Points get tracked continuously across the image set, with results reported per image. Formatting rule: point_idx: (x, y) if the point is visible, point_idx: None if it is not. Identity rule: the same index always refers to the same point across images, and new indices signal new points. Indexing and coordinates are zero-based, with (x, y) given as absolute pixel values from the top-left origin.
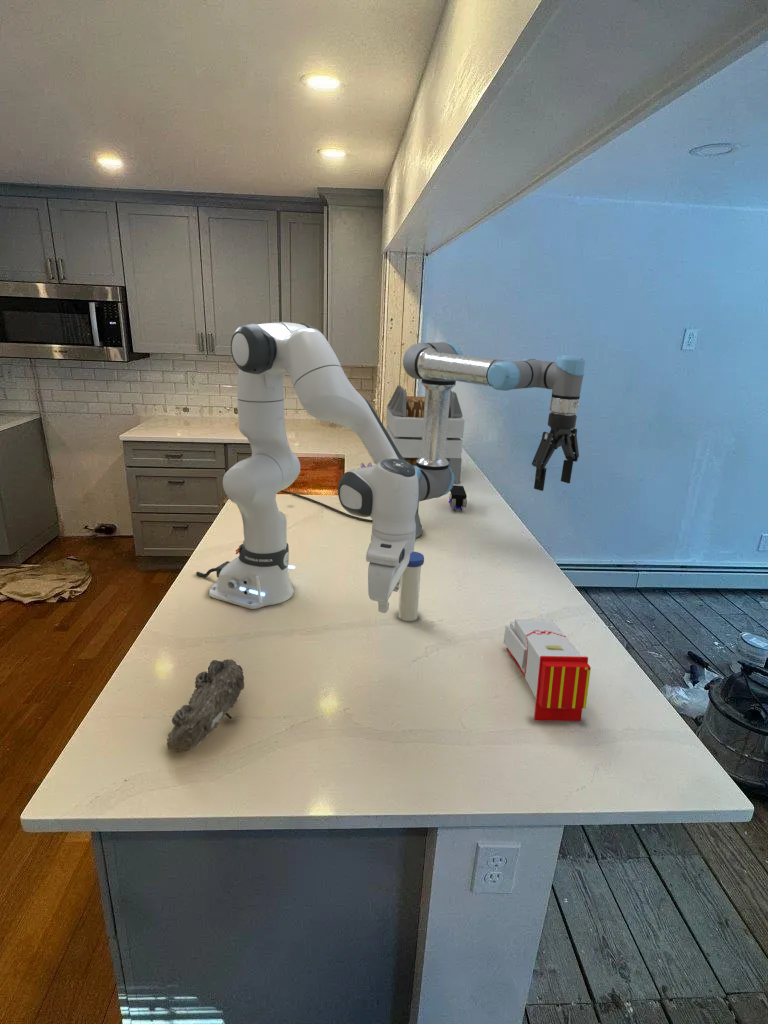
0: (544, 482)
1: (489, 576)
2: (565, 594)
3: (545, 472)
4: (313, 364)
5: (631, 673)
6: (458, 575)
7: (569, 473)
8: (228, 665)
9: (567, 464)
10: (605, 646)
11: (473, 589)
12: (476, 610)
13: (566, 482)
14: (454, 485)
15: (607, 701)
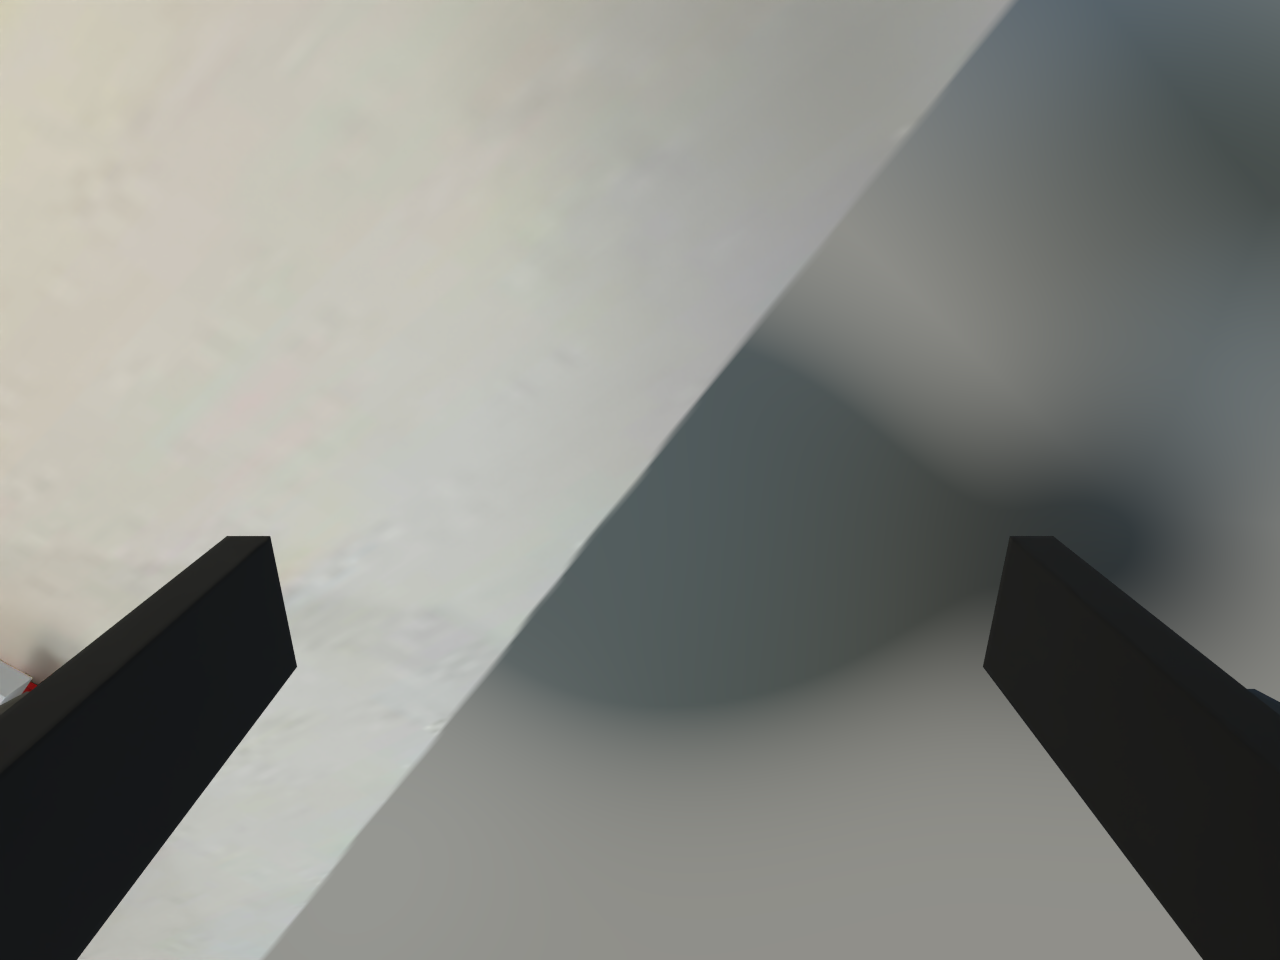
0: (224, 760)
1: (349, 194)
2: (542, 552)
3: (68, 942)
4: None
5: (286, 907)
6: (182, 60)
7: (1078, 778)
8: None
9: (1232, 872)
10: (338, 814)
11: (159, 250)
12: (44, 406)
13: (990, 638)
14: None
15: (115, 923)
